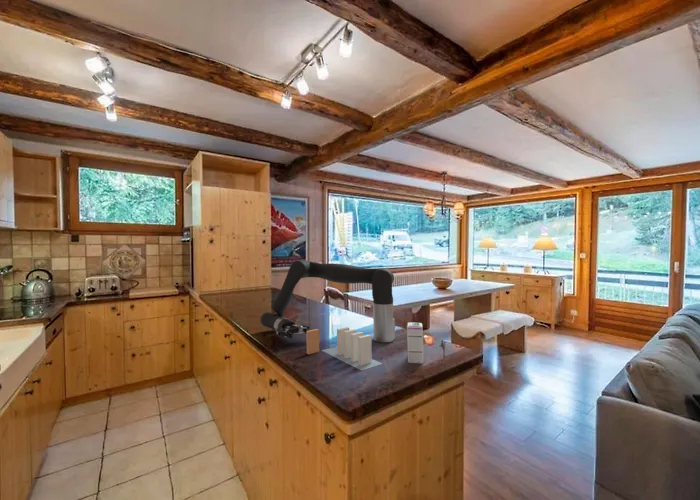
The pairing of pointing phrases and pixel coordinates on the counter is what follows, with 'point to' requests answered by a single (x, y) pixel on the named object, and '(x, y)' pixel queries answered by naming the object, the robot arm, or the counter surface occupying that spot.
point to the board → (355, 364)
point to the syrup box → (415, 342)
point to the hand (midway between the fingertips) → (300, 334)
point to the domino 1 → (312, 341)
